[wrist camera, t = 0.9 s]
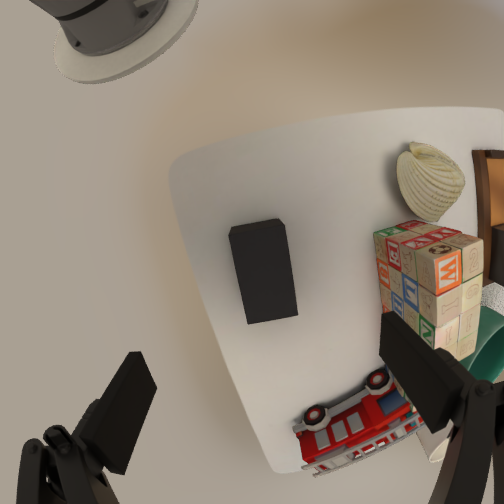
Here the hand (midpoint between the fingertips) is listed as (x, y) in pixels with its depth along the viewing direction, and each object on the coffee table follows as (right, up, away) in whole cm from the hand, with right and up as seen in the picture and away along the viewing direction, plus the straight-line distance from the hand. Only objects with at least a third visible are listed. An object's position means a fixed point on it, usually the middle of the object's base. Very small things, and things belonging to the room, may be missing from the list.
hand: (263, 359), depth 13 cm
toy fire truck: (+15, -18, +22) cm, 32 cm away
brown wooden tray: (+36, +11, +15) cm, 40 cm away
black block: (+1, +4, +16) cm, 17 cm away
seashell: (+18, +14, +14) cm, 27 cm away
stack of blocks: (+19, -1, +18) cm, 26 cm away
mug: (+33, -9, +20) cm, 40 cm away
